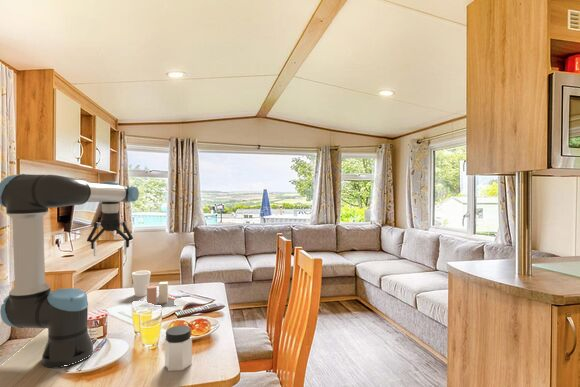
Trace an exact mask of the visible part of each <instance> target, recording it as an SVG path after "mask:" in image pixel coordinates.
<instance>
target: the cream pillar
mask: <svg viewBox="0 0 580 387" xmlns="http://www.w3.org/2000/svg"><path fill="white" fill-rule="evenodd" d="M158 297H159V303H167V302H168V297H169V281H160V282H159V283H158Z"/></svg>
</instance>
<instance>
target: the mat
mask: <svg viewBox="0 0 580 387" xmlns="http://www.w3.org/2000/svg"><path fill="white" fill-rule="evenodd" d="M173 297H175V298H181V297H190V298H191V295H189V294H188V295H186V294H185V295H173ZM157 305H161V306H162V307H161V308H169V307H170V308H171V307H173V308H174V307H177V306H176V305H174V300H169V299H168V302H167V303H159V296H157Z"/></svg>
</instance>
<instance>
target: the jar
mask: <svg viewBox="0 0 580 387" xmlns="http://www.w3.org/2000/svg"><path fill="white" fill-rule="evenodd" d="M191 329H192V328H191V327H190V326H189V325H184V324H183V325H179V324H178V325H175V326H174V325H173V326H170V327H169V328H167V329H166V331H165V338H164V365H165V368H166V369H167V370H168V372H173V371H174V372H175V371H176V372H177V371H179V372H180V371H184V370H185V369H187V368H188V367H189V366H191V365H192V364H193V362H192V361H193V337H192V330H191Z"/></svg>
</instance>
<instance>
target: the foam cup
mask: <svg viewBox="0 0 580 387" xmlns="http://www.w3.org/2000/svg"><path fill="white" fill-rule="evenodd" d="M151 274H152V273H151V271H150V270H144V269H143V270H137V271H132V273H131V278H132V285H133V290H134V296H135V297H139V298H140V297H141V298H142V297H147V286H150V279H151Z"/></svg>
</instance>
